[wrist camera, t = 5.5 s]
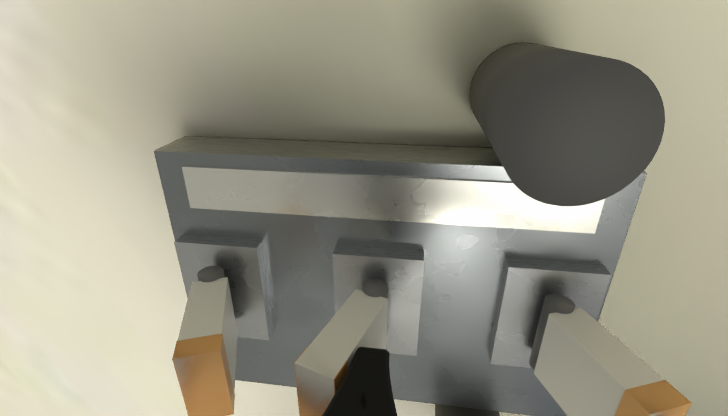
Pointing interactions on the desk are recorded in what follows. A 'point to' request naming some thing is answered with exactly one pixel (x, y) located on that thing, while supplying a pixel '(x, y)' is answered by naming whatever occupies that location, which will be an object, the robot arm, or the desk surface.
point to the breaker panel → (390, 256)
